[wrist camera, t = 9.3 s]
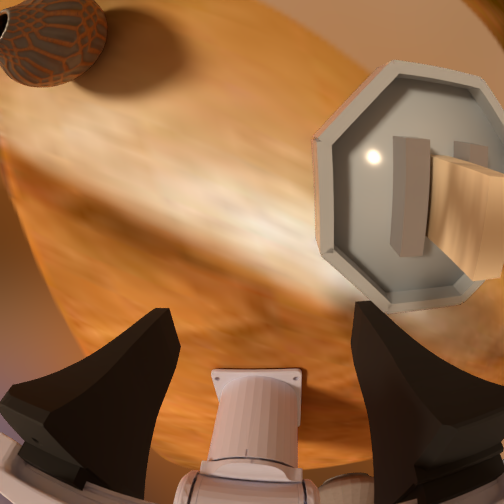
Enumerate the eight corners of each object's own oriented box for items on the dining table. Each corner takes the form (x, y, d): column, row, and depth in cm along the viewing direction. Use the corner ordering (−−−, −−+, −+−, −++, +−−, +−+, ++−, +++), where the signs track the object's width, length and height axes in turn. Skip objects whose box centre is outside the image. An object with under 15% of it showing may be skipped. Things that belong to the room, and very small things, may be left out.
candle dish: (488, 282, 19) (505, 300, 17) (315, 299, 21) (319, 324, 19) (505, 92, 13) (530, 92, 10) (304, 64, 15) (309, 53, 12)
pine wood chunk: (442, 228, 17) (499, 277, 11) (418, 229, 17) (472, 281, 11) (447, 155, 15) (517, 179, 9) (422, 153, 15) (489, 175, 9)
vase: (50, 28, 14) (-29, 15, 6) (121, -8, 13) (47, -50, 5) (52, 101, 16) (-35, 109, 8) (125, 70, 16) (36, 51, 8)
